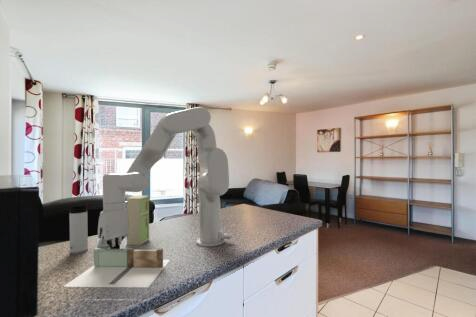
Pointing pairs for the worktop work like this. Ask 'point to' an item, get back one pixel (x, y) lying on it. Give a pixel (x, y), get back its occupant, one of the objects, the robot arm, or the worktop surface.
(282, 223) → the worktop surface
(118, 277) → the card
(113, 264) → the mint green long bar
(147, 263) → the fixed fence section
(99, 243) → the flask
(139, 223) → the toy refrigerator
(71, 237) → the travel mug
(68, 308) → the worktop surface
